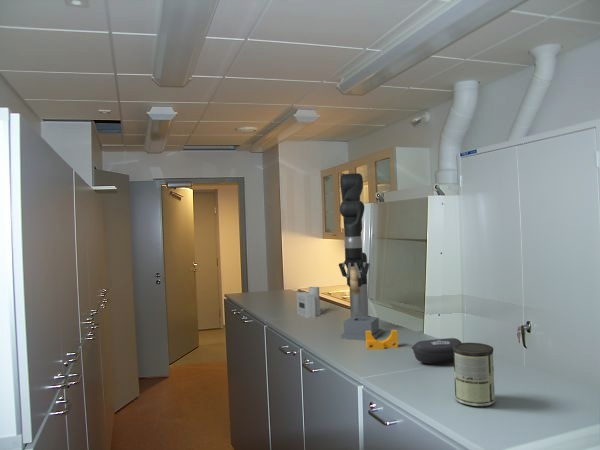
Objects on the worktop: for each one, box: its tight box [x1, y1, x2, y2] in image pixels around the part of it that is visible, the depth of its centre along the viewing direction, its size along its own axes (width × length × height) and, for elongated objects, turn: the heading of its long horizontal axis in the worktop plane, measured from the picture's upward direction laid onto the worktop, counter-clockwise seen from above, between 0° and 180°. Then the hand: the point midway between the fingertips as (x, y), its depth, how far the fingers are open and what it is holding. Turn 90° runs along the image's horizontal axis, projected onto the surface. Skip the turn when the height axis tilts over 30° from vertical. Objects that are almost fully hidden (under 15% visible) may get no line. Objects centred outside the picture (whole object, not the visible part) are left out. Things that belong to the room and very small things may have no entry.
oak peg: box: [349, 266, 360, 295], centre depth 209 cm, size 4×4×12 cm
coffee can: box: [453, 342, 496, 407], centre depth 130 cm, size 10×10×14 cm
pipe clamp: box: [365, 329, 399, 350], centre depth 187 cm, size 12×4×6 cm, turn 89°
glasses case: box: [411, 337, 462, 365], centre depth 166 cm, size 18×10×8 cm, turn 103°
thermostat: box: [296, 286, 327, 319], centre depth 260 cm, size 12×14×15 cm
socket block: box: [340, 316, 383, 341], centre depth 209 cm, size 15×14×7 cm
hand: (354, 286), depth 209 cm, fingers closed on oak peg, 4 cm apart
